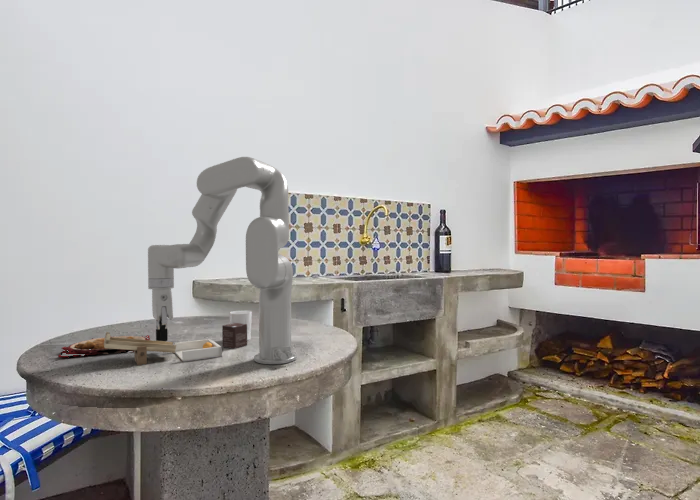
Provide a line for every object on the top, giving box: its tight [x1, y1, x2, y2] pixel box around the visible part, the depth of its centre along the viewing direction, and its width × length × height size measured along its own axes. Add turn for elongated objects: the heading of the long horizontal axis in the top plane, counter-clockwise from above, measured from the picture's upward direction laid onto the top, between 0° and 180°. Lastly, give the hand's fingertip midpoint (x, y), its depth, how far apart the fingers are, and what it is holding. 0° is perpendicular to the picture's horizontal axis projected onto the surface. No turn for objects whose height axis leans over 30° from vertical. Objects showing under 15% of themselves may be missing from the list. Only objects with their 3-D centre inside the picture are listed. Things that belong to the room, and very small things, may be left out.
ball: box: [203, 342, 213, 348], centre depth 146 cm, size 3×3×3 cm
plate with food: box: [58, 335, 151, 358], centre depth 155 cm, size 25×26×4 cm
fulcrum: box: [133, 346, 148, 366], centre depth 136 cm, size 8×2×5 cm, turn 31°
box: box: [221, 323, 248, 350], centre depth 156 cm, size 6×6×7 cm
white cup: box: [229, 310, 253, 341], centre depth 166 cm, size 8×8×10 cm
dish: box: [173, 338, 223, 363], centre depth 144 cm, size 14×12×3 cm
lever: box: [104, 331, 176, 354], centre depth 139 cm, size 13×19×4 cm, turn 121°
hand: (161, 341), depth 146 cm, fingers closed
